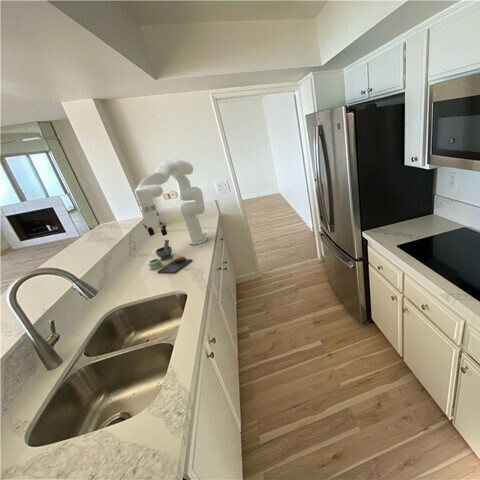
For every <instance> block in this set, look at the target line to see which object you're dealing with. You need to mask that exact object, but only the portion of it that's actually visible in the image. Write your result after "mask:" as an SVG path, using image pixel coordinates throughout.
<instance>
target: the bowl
mask: <svg viewBox="0 0 480 480" xmlns="http://www.w3.org/2000/svg"><path fill="white" fill-rule="evenodd" d="M147 264H148V266H149V268H150V270H160V269H162V268H163V262H162V259H161V258H160V257H157V258H153V259H150V260H149V261H148V262H147Z"/></svg>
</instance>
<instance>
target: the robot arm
mask: <svg viewBox="0 0 480 480" xmlns="http://www.w3.org/2000/svg"><path fill="white" fill-rule="evenodd" d="M193 172H194V167H193V165H192V164H191V163H190V162H189V161H186V160H183V159H179V158H173V159H165V160H162V161H161V162H160V163H159V164H158V166H157V167H156V169H155V171H154V172H153V173H151V174H149V175H148V176H146V177H145V178H143V179H142V180H141V181H139V183H138V185H137V186H136V189H134V195H135V196H136V200H137V202H138V204H139V207H140V209H141V215H142V219H143V222H142V223H141V224H142V225H143V227H144V228H145V229H146V231H147V232H148V234H149V236H150V237H152V236H155V235H156V233H155V231H154V228H159V229H160V232H161V235H162V236H163V237H165V236H167V235H168V231H167V223H168V222H167V221H166V220H164V219H163V216H162V214H161V212H160V211H159V209H158V208H157V206H156V203H155V201H154V198H159V197H161V196H162V195H163V193H164V189H163V187H162V186H161V185H163V184H165V183H167V182H168V181H169V179H170V177H172V178H173V179H175V181H176V184H177V190H178V195H179V198H180V200H181V201H183V203H181V204H180V205H179V207H178V208H179V209H178V210H179V213H180V215H181V216H182V218H183V221H184V223H185V226H186V229H187V233H188V235H189V238H190V241H189V245H191V246H195V245H200V244H203V243H205V242H206V241H207V239H208V238H207V237H206V236H207V234H208V233H207V232H204V233H203V230H202V225H201V224H200V219H199V218H198V216H197V215H203V214H204V213H205V208H206V207H205V202H204V195H203V191H202V189H201V188H200V187H198V186H191V182H190V179H189V178H188V176H187V175H191V174H192V173H193ZM188 201H189V202H188Z"/></svg>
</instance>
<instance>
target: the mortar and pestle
mask: <svg viewBox="0 0 480 480" xmlns="http://www.w3.org/2000/svg"><path fill="white" fill-rule="evenodd" d="M169 242H170V240H169V239H164V245H163V246H162V247H159V248H157V249H155V254H156V256H157V257H158V258H160V260H161V261H167V260H170V259H171V258H172V253H173V249H172V246H170V245H169V244H170V243H169Z"/></svg>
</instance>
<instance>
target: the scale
mask: <svg viewBox="0 0 480 480" xmlns="http://www.w3.org/2000/svg"><path fill="white" fill-rule="evenodd" d="M182 258H183V259H181V260H178V259H177V258H175V259H174V260H172V261H170V262H169V263H167V264H166V265H165V266H162V267H161V268H159V269H158V271H157V274H177V273H179V272H180V271H182V269H184V268H185V267H186V266H188V265H189V264H191V263H192V262H193V259H192V258H191V259H189V258H186V257H185V256H182Z"/></svg>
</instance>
